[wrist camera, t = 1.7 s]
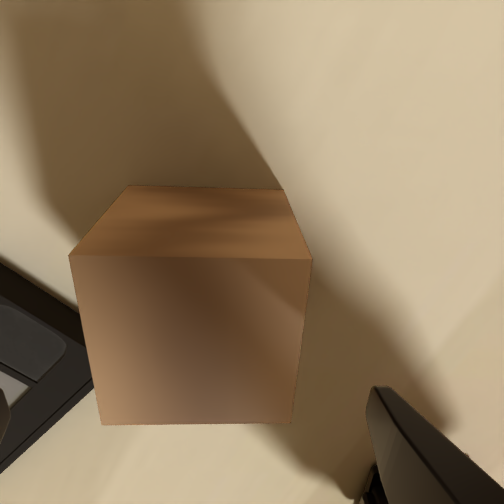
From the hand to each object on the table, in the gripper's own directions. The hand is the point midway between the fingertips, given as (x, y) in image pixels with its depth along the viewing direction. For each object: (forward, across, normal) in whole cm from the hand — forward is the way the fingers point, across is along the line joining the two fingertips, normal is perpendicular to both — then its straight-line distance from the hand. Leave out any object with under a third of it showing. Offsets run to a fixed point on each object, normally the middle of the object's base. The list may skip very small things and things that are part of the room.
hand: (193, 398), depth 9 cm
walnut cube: (+8, 0, 0) cm, 8 cm away
